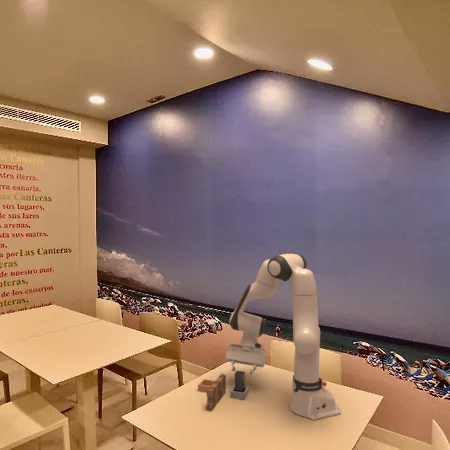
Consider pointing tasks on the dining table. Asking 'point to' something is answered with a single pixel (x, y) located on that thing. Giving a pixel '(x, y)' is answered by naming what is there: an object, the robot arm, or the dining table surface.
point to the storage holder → (239, 393)
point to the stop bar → (240, 381)
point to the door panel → (216, 392)
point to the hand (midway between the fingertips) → (242, 372)
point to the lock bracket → (205, 385)
